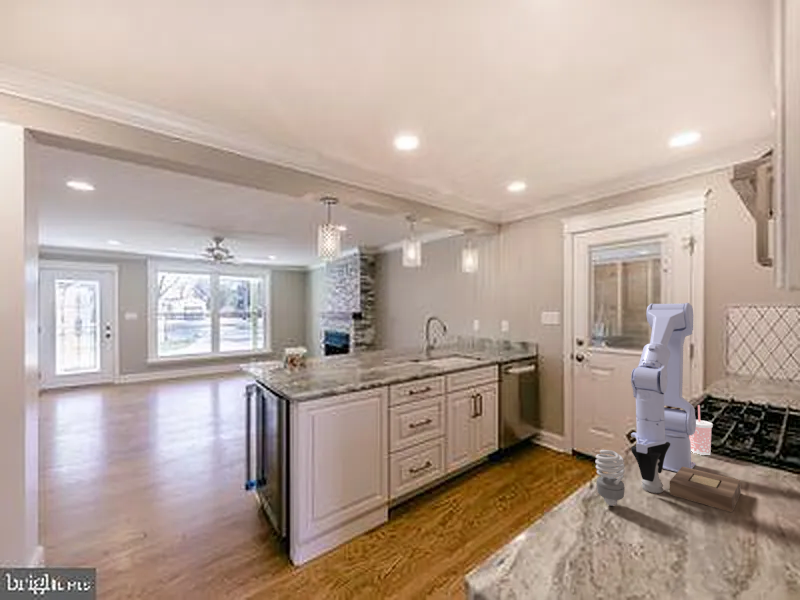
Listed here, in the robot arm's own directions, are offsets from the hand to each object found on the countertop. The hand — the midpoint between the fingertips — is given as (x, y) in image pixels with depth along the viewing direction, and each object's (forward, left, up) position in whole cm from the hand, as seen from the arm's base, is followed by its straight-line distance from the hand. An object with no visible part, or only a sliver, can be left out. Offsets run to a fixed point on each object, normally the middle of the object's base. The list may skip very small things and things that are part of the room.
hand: (651, 475), depth 92 cm
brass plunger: (-6, +9, -1) cm, 11 cm away
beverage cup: (-36, +3, -3) cm, 36 cm away
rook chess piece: (0, 0, -3) cm, 3 cm away
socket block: (-6, +9, -3) cm, 11 cm away
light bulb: (+15, -4, -3) cm, 16 cm away
